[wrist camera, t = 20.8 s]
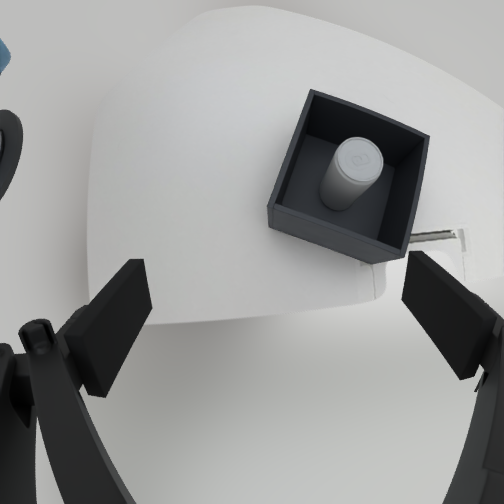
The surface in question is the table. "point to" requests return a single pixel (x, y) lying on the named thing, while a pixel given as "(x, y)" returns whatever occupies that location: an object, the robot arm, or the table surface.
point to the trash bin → (370, 202)
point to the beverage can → (350, 173)
